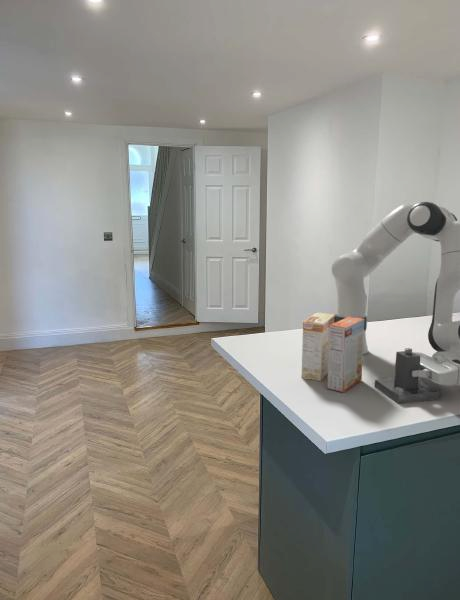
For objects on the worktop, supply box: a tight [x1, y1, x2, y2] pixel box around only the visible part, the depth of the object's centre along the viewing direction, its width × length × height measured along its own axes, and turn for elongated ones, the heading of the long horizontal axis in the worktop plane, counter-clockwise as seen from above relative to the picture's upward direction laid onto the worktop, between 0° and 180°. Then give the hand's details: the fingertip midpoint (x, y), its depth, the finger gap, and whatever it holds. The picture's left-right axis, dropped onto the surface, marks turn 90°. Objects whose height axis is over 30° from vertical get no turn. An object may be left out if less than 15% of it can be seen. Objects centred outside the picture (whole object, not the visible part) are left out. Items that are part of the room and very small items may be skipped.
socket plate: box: [374, 377, 439, 405], centre depth 140 cm, size 13×13×3 cm
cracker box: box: [326, 317, 364, 394], centre depth 145 cm, size 14×6×21 cm, turn 141°
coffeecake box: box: [301, 312, 336, 382], centre depth 156 cm, size 15×7×20 cm, turn 152°
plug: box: [394, 347, 420, 389], centre depth 139 cm, size 6×4×14 cm
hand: (404, 369), depth 138 cm, fingers closed on plug, 5 cm apart
